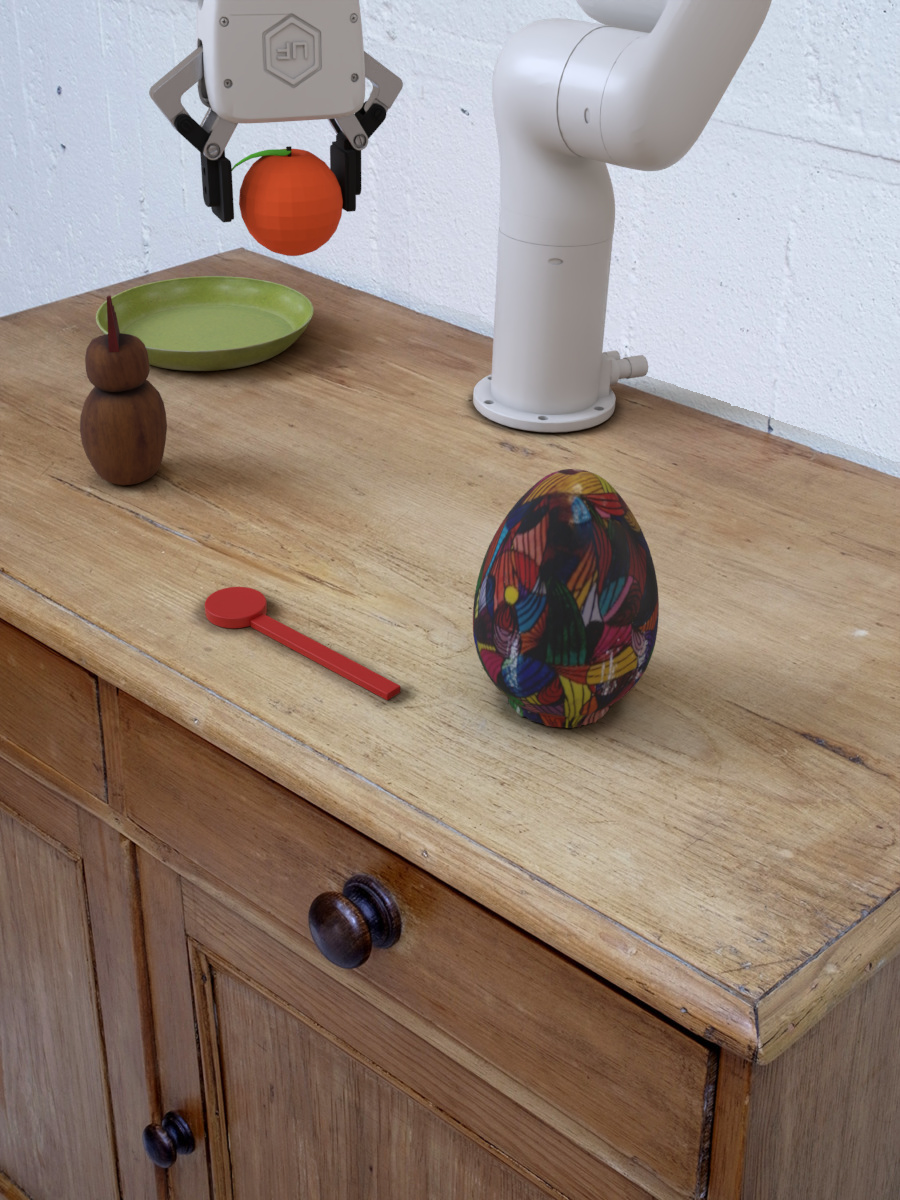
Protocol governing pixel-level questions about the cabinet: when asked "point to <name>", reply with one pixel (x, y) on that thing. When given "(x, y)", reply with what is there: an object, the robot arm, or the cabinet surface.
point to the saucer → (210, 320)
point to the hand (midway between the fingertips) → (284, 210)
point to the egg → (566, 601)
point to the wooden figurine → (121, 408)
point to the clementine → (290, 201)
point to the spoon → (288, 636)
